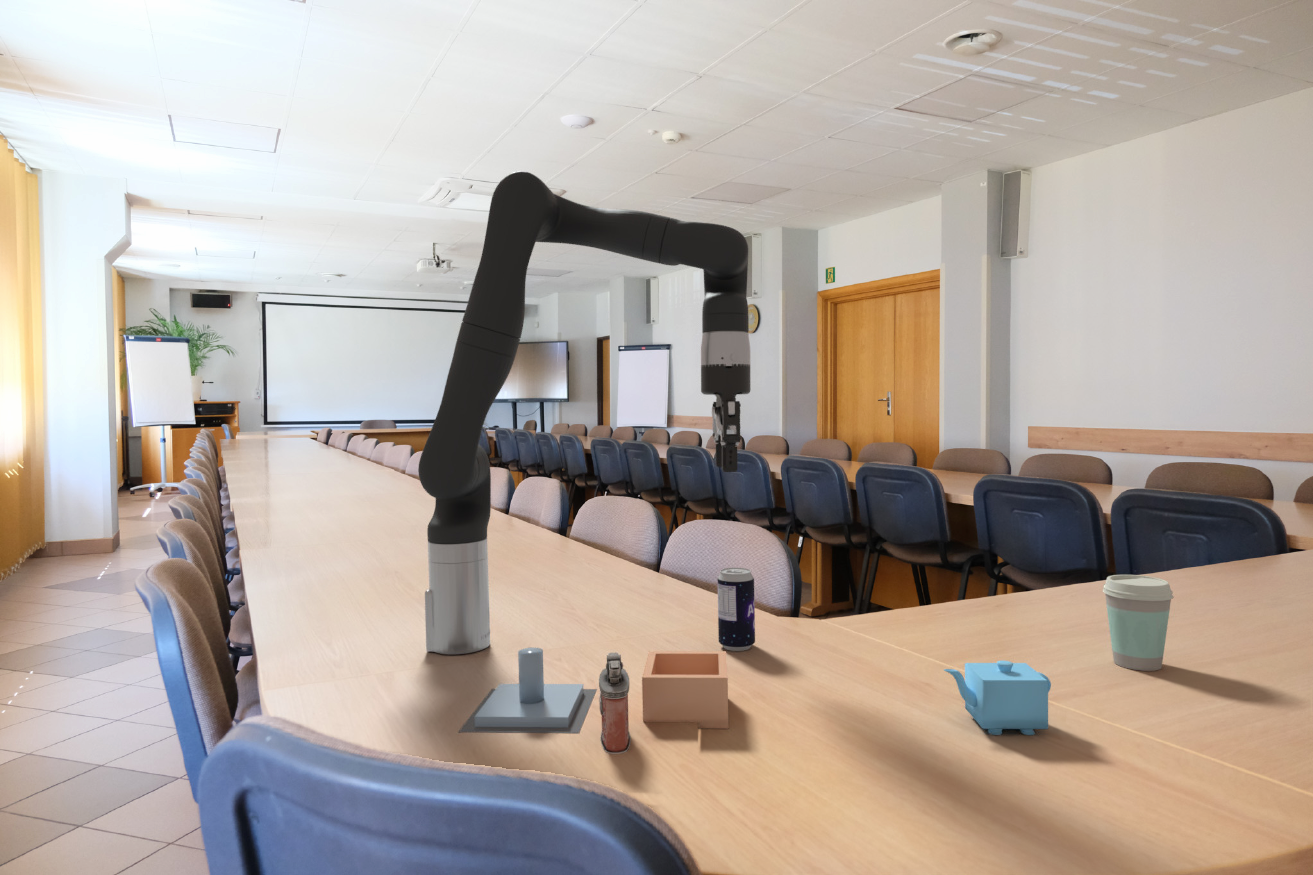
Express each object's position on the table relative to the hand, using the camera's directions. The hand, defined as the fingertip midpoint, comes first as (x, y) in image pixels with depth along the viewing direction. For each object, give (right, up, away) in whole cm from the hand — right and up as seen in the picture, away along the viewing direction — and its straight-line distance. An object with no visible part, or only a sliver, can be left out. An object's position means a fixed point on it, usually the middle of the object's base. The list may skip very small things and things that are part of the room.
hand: (726, 469), depth 121 cm
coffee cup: (+57, -27, -9) cm, 64 cm away
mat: (-26, -29, -24) cm, 46 cm away
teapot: (+29, -29, -29) cm, 50 cm away
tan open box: (-7, -29, -23) cm, 38 cm away
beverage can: (+2, -28, +3) cm, 28 cm away
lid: (-26, -29, -24) cm, 45 cm away
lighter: (-15, -30, -33) cm, 47 cm away
